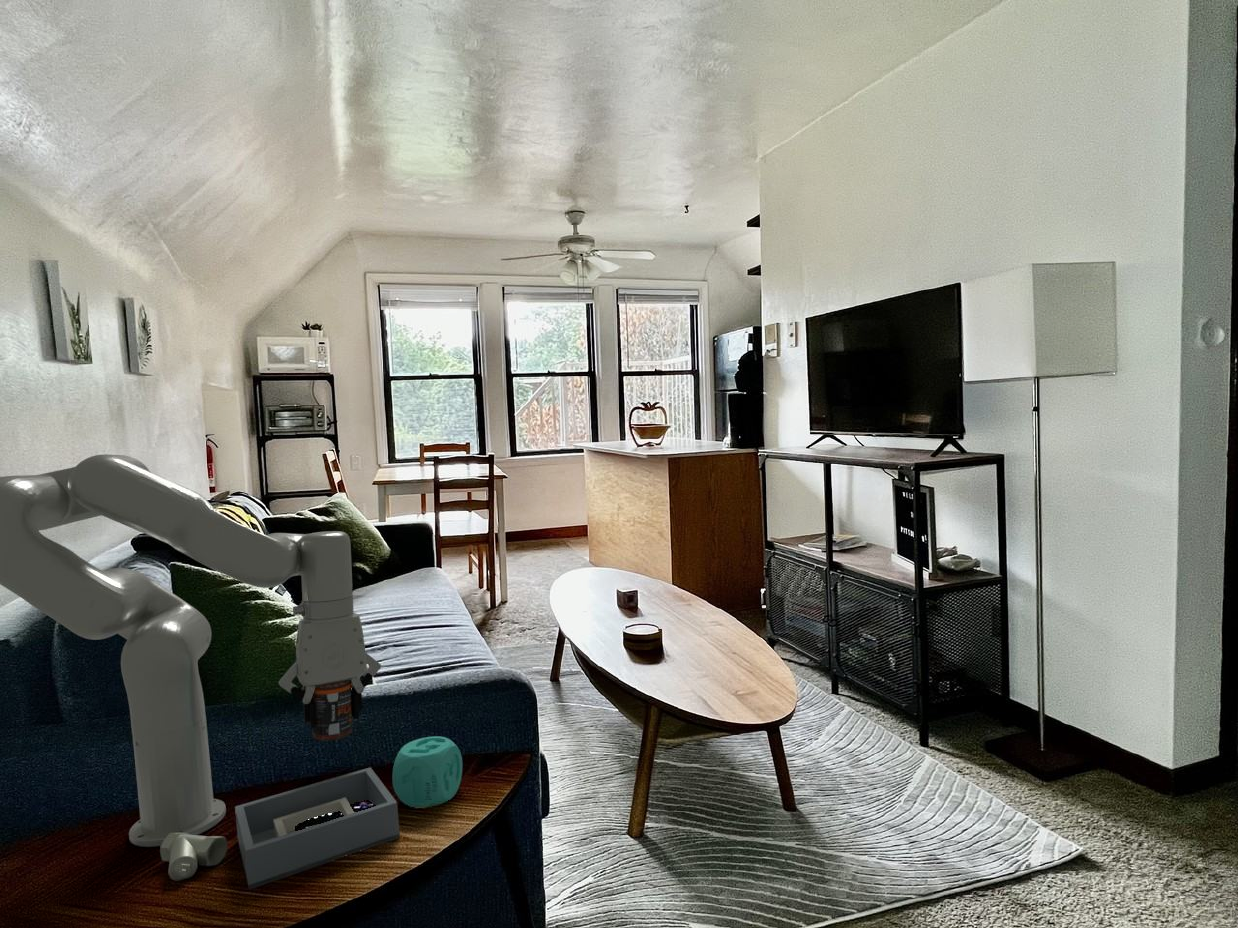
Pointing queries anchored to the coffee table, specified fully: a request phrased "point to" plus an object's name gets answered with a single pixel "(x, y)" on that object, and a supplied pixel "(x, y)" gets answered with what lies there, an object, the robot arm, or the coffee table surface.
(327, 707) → the supplement bottle
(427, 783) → the decorative dice
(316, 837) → the box
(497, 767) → the coffee table surface
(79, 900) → the coffee table surface
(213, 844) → the pipe fitting
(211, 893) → the coffee table surface
